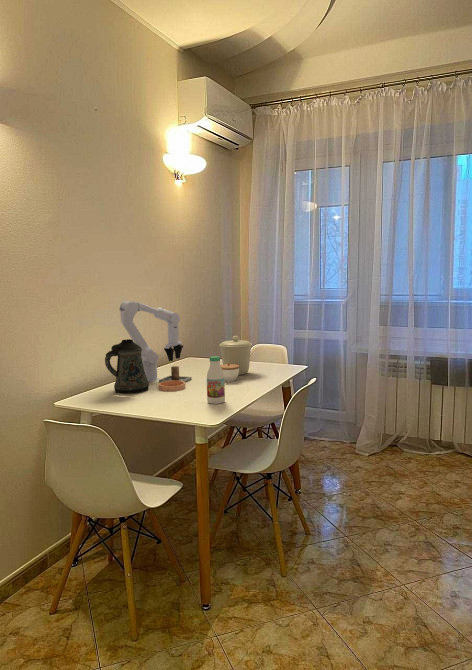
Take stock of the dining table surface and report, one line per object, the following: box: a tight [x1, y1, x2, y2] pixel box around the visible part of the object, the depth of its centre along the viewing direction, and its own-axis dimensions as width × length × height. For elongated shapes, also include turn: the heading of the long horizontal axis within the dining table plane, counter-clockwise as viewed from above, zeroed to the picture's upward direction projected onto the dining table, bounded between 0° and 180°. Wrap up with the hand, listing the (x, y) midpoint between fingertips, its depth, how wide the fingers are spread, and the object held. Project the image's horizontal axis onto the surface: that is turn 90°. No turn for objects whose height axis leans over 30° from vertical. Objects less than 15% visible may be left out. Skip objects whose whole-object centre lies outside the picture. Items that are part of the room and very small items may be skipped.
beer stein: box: [104, 338, 150, 395], centre depth 247 cm, size 16×19×25 cm
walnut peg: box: [170, 365, 180, 381], centre depth 266 cm, size 4×4×7 cm
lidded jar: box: [220, 363, 239, 383], centre depth 268 cm, size 11×11×9 cm
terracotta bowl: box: [158, 381, 186, 392], centre depth 252 cm, size 13×13×3 cm
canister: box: [218, 335, 253, 376], centre depth 284 cm, size 18×18×21 cm
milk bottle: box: [206, 355, 226, 405], centre depth 224 cm, size 8×8×20 cm
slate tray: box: [158, 375, 193, 384], centre depth 267 cm, size 13×11×2 cm
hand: (174, 359), depth 280 cm, fingers open, 7 cm apart
